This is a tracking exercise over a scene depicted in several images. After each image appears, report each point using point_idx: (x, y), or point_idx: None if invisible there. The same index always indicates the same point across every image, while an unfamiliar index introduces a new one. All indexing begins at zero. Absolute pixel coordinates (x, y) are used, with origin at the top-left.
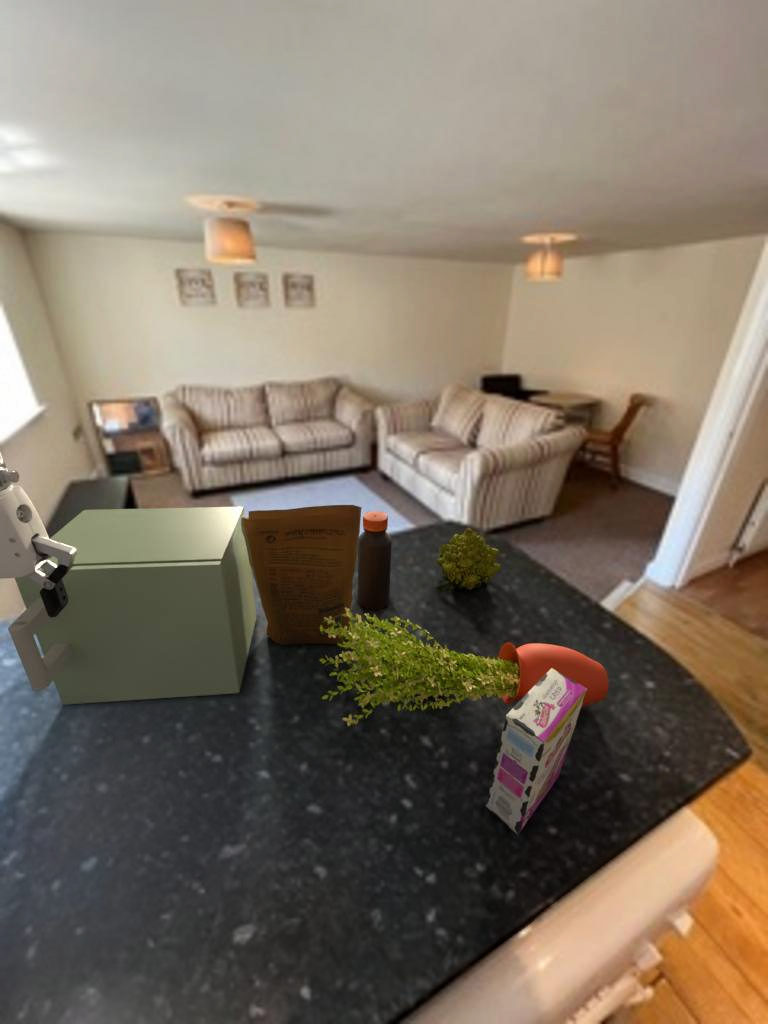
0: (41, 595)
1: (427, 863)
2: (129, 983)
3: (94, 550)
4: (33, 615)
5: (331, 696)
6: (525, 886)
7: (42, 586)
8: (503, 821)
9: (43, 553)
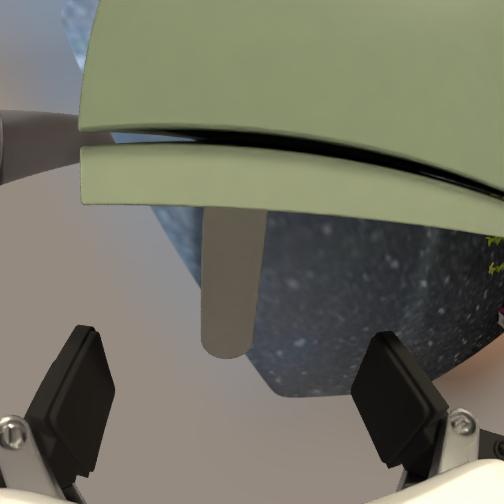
0: (380, 453)
1: (467, 336)
2: (335, 388)
3: (486, 45)
4: (250, 298)
5: (491, 239)
6: (485, 341)
7: (402, 473)
8: (498, 318)
9: (479, 479)
